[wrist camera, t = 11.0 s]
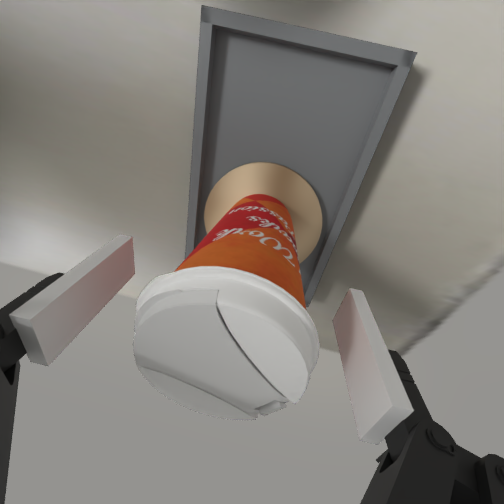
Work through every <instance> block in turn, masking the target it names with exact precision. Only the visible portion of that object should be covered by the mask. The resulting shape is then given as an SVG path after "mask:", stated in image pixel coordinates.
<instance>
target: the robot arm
mask: <svg viewBox="0 0 504 504" xmlns="http://www.w3.org/2000/svg"><path fill="white" fill-rule="evenodd" d="M134 274H135V267H134V252H133V238H132V237H131V236H127V235H123V234H119V235H118V236H116V237H115V238H113V239H112V240H111V241H109V242H108V243H107V244H105V245H104V246H103V247H101V248H100V249H98V250H97V251H96V252H94V253H93V254H92V255H90V256H89V257H87V258H86V259H85V260H83V261H82V262H81V263H79V264H78V265H76V266H75V267H74V268H72V269H71V270H70V271H68V272H67V273H66V274H63V273H57V274H54V275H52V276H49V277H47V278H45V279H44V280H42V281H41V282H39V283H38V284H36V286H35V287H34V286H33V287H32V288H30V289H29V290H28V291H27V292H26V293H23V294H22V295H20V296H19V297H17V298H16V299H14V300H13V301H12V302H10V303H9V304H7V305H6V306H4V307H3V308H1V309H0V504H4V501H5V494H6V485H7V476H8V468H9V459H10V450H11V441H12V433H13V424H14V415H15V407H16V397H17V389H18V381H19V372H20V363H19V359H20V358H22V357H23V356H24V355H25V354H26V353H27V356H28V358H29V360H30V362H33V363H37V364H42V365H45V366H49V365H50V364H51V363H52V362H53V361H54V360H55V358H57V357H58V355H59V354H60V353H61V352H62V351H63V350H64V349H65V348H66V347H67V346H68V345H69V344H70V343H71V342H72V341H73V339H74V338H75V337H76V336H77V335H78V334H79V333H80V332H81V331H82V330H83V329H84V328H85V327H86V325H88V323H89V322H90V321H91V320H92V319H93V318H94V317H95V316H96V315H97V314H98V313H99V312H100V311H101V309H102V308H103V307H104V306H105V305H106V304H107V303H108V302H109V301H110V300H111V299H112V298H113V297H114V296H115V295H116V294H117V292H118V291H119V290H120V289H121V288H122V287H123V286H124V285H125V284H126V283H127V282H128V281H129V280H130V279H131V278H132V276H133V275H134ZM333 324H334V329H335V333H336V338H337V342H338V346H339V351H340V355H341V360H342V364H343V368H344V373H345V378H346V382H347V387H348V391H349V396H350V400H351V405H352V409H353V414H354V418H355V423H356V427H357V431H358V436H359V440H360V441H364V442H368V443H373V444H376V445H378V444H379V443H380V442H381V441H382V440H383V439H385V440H386V443H387V446H388V449H387V450H386V451H385V452H384V453H383V454H382V455H381V456H379V457H378V459H376V461H377V462H378V463H379V462H380V463H379V466H378V467H377V470H376V472H375V474H374V476H373V478H372V480H371V482H370V484H369V487H368V489H367V491H366V493H365V495H364V497H363V499H362V501H361V503H360V504H504V459H503V458H501V457H499V456H497V455H495V454H488V455H487V456H485V457H483V458H480V457H478V456H476V455H474V454H473V453H471V452H469V451H467V450H465V449H464V448H462V447H460V446H458V445H456V443H455V441H454V440H453V438H452V437H451V435H450V434H449V433H448V432H447V431H446V430H445V429H444V428H443V427H442V426H441V425H439V424H438V423H436V422H435V421H433V419H432V417H431V415H430V413H429V411H428V409H427V407H426V405H425V403H424V401H423V399H422V396H421V394H420V392H419V390H418V388H417V386H416V384H414V380H413V378H412V376H411V375H410V371H409V369H408V367H407V365H406V363H405V361H404V360H403V359H402V358H401V356H400V355H399V354H398V353H397V352H396V351H392V350H388V349H387V347H386V344H385V342H384V340H383V337H382V335H381V333H380V330H379V328H378V326H377V323H376V321H375V319H374V316H373V314H372V312H371V309H370V307H369V305H368V302H367V300H366V298H365V295H364V293H363V291H361V290H357V289H353V288H349V290H348V292H347V294H346V296H345V298H344V300H343V302H342V304H341V305H340V307H339V309H338V311H337V313H336V315H335V317H334V319H333Z"/></svg>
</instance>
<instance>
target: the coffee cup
mask: <svg viewBox="0 0 504 504" xmlns="http://www.w3.org/2000/svg"><path fill="white" fill-rule="evenodd" d="M136 312H137V314H136V318H135V326H134V332H135V333H136V334H135V336H134V341H133V350H134V356H135V361H136V365H137V367H138V369H139V371H140V372H141V374H142V375H143V376H144V378H145V379H146V380H147V381H148V382H149V383H150V384H151V385H152V386H153V387H154V388H155V389H156V390H157V391H159V392H160V393H161V394H163V395H164V396H166V397H167V398H169V399H170V400H172V401H174V402H175V403H177V404H179V405H181V406H183V407H186V408H188V409H190V410H193V411H195V412H198V413H201V414H205V415H208V416H212V417H218V418H222V419H230V420H256V418H257V417H258V413H260V414H261V415H268V414H270V413H273V412H275V411H278V410H281V409H283V408H285V407H286V405H285V404H284V403H286V402H289V401H291V402H292V403H293V404H296V403H297V402H298V401H299V400H300V398H301V397H302V395H303V394H304V392H305V390H306V389H307V386H308V382H309V379H310V374H311V372H312V371H313V369H314V367H315V365H316V363H317V359H318V356H319V346H320V344H319V338H318V332H317V329H316V327H315V325H314V322H313V320H312V318H311V317H310V315H309V314H308V312H307V311H306V305H305V298H304V292H303V285H302V279H301V272H300V266H299V259H298V253H297V246H296V240H295V234H294V228H293V224H292V219H291V216H290V214H289V212H288V210H287V208H286V207H285V206H284V205H283V204H282V203H281V202H280V201H279V200H278V199H276V198H274V197H272V196H269V195H265V194H253V195H249V196H246V197H244V198H242V199H241V200H239V201H238V202H237V203H236V204H235V205H234V206H233V207H232V208H231V209H230V210H229V211H228V212H227V213H226V214H225V215H224V216H223V217H222V218H221V220H220V221H219V222H218V223H217V224H216V225H215V226H214V227H213V229H212V230H211V231H210V232H209V233H208V234H207V235H206V236H205V237H204V239H203V240H202V241H201V242H200V243H199V244H198V245H197V247H196V248H195V249H194V250H193V251H192V252H191V253H190V254H189V256H188V257H187V258H186V259H185V260H184V261H183V262H182V264H181V265H180V266H179V267H178V268H177V269H176V270H175V271H174V272H172V273H168V274H164V275H160V276H157V277H155V278H154V279H153V280H152V281H151V282H149V283H148V284H147V285H146V287H145V288H144V289H143V290H142V292H141V293H140V295H139V297H138V299H137V302H136Z"/></svg>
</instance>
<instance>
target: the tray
mask: <svg viewBox="0 0 504 504" xmlns="http://www.w3.org/2000/svg"><path fill="white" fill-rule="evenodd" d="M416 54H417V52H413V51H408V50H404V49H399V48H395V47H390V46H386V45H381V44H377V43H372V42H368V41H363V40H358V39H354V38H349V37H345V36H340V35H336V34H331V33H327V32H322V31H318V30H313V29H308V28H304V27H299V26H295V25H290V24H286V23H281V22H277V21H272V20H268V19H263V18H258V17H254V16H249V15H245V14H240V13H236V12H231V11H227V10H222V9H218V8H213V7H208V6H204V5H202V7H201V22H200V37H199V52H198V68H197V83H196V98H195V114H194V129H193V144H192V160H191V175H190V190H189V206H188V221H187V236H186V252H185V259H186V258H187V257H188V256H189V254H190V253H191V252H192V251H193V250H194V249H195V248H196V247H197V245H198V244H199V243H200V242H201V241H202V240H203V239H204V237H205V236H206V235H207V232H206V228H205V221H204V211H205V206H206V202H207V199H208V196H209V194H210V192H211V190H212V189H213V187H214V186H215V184H216V183H217V182H218V181H219V180H220V179H221V178H222V177H223V176H225V175H226V174H227V173H228V172H230V171H231V170H233V169H235V168H237V167H239V166H242V165H244V164H248V163H253V162H271V163H277V164H280V165H283V166H286V167H288V168H290V169H292V170H294V171H295V172H297V173H298V174H300V175H301V176H302V177H303V178H304V179H305V180H306V181H307V182H308V183H309V184H310V185H311V187H312V189H313V190H314V192H315V194H316V196H317V198H318V200H319V204H320V207H321V212H322V230H321V234H320V238H319V240H318V243H317V245H316V247H315V248H314V250H313V251H312V252H311V254H310V255H309V256H308V257H307V258H306V259H305V260H304V261H303V262H301V263H300V264H299V266H300V272H301V279H302V285H303V292H304V298H305V305H306V307H308V306H309V304H310V302H311V299H312V297H313V295H314V292H315V290H316V288H317V285H318V283H319V281H320V278H321V276H322V274H323V271H324V269H325V267H326V264H327V262H328V260H329V257H330V255H331V253H332V250H333V248H334V246H335V243H336V241H337V239H338V236H339V234H340V232H341V229H342V227H343V225H344V222H345V220H346V218H347V215H348V213H349V211H350V208H351V206H352V204H353V201H354V199H355V197H356V194H357V192H358V190H359V187H360V185H361V183H362V180H363V178H364V176H365V173H366V171H367V169H368V166H369V164H370V162H371V159H372V157H373V155H374V152H375V150H376V148H377V145H378V143H379V141H380V138H381V136H382V134H383V131H384V129H385V127H386V124H387V122H388V120H389V117H390V115H391V113H392V110H393V108H394V106H395V103H396V101H397V99H398V96H399V94H400V92H401V89H402V87H403V85H404V82H405V80H406V78H407V75H408V73H409V71H410V68H411V66H412V64H413V61H414V59H415V57H416Z"/></svg>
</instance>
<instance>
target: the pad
mask: <svg viewBox="0 0 504 504" xmlns="http://www.w3.org/2000/svg"><path fill="white" fill-rule="evenodd" d="M253 194H265V195H269V196H272V197H274V198H276V199H278V200H279V201H280V202H281V203H282V204H283V205H284V206H285V207H286V208H287V210H288V212H289V214H290V216H291V219H292V224H293V228H294V234H295V240H296V246H297V253H298V259H299V264H300V263H301V262H303V261H304V260H305V259H306V258H307V257H308V256H309V255H310V254H311V252H312V251H313V250H314V248H315V247H316V245H317V243H318V240H319V238H320V234H321V230H322V212H321V207H320V204H319V200H318V198H317V196H316V194H315V192H314V190H313V189H312V187H311V185H310V184H309V183H308V182H307V181H306V180H305V179H304V178H303V177H302V176H301V175H300V174H298V173H297V172H295V171H294V170H292V169H290V168H288V167H286V166H283V165H280V164H277V163H271V162H253V163H248V164H244V165H242V166H239V167H237V168H235V169H233V170H231V171H230V172H228V173H227V174H226V175H225V176H223V177H222V178H221V179H220V180H219V181H218V182H217V183H216V184H215V186H214V187H213V189H212V190H211V192H210V194H209V196H208V199H207V202H206V206H205V211H204V221H205V228H206V232H207V234H208V233H209V232H210V231H211V230H212V229H213V227H214V226H215V225H216V224H217V223H218V222H219V221H220V220H221V218H222V217H223V216H224V215H225V214H226V213H227V212H228V211H229V210H230V209H231V208H232V207H233V206H234V205H235V204H236V203H237V202H238V201H239V200H241V199H242V198H244V197H246V196H249V195H253Z"/></svg>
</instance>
